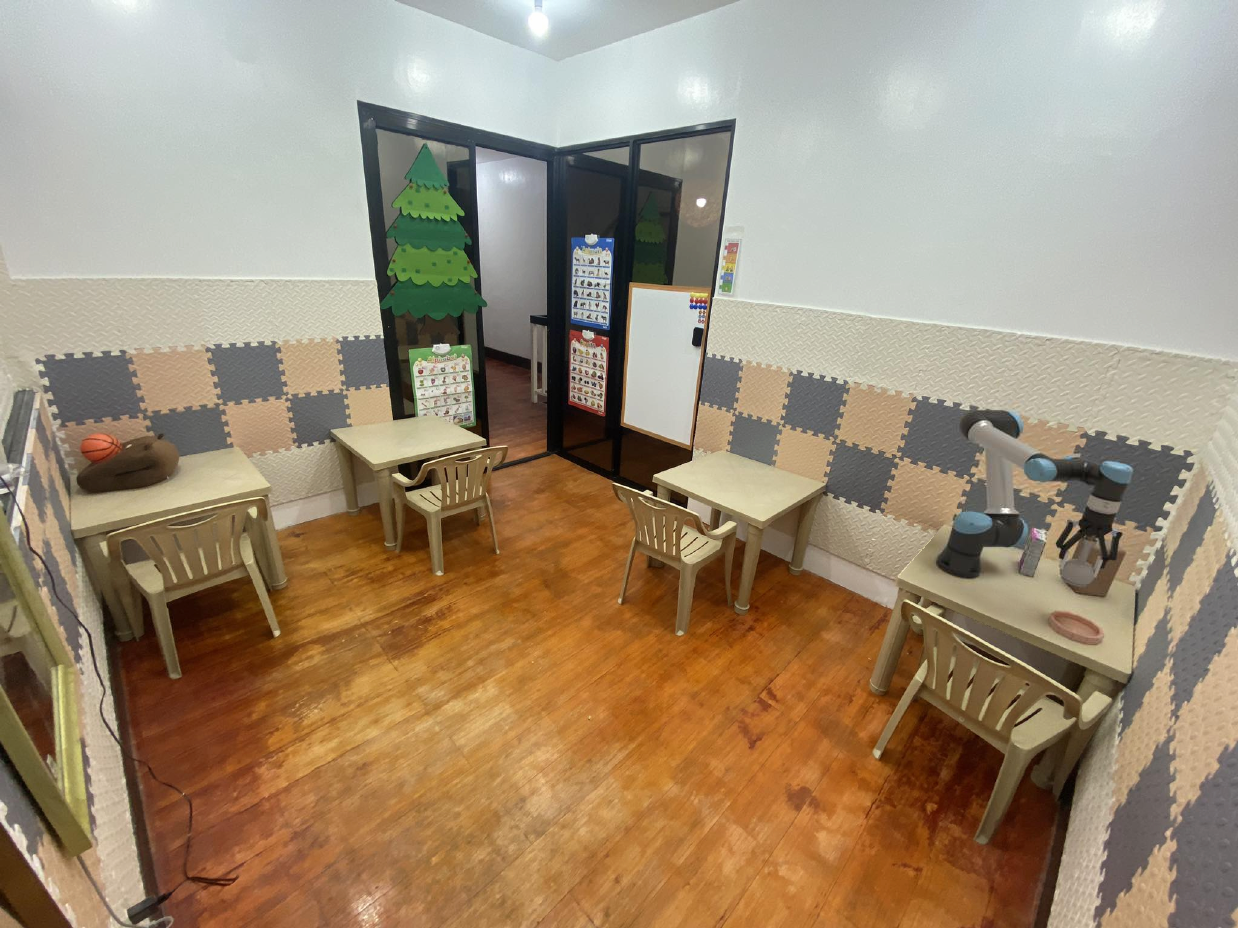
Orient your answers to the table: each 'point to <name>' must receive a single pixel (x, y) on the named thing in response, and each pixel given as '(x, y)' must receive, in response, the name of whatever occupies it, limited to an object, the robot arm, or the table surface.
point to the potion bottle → (1080, 566)
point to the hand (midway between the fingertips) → (1077, 571)
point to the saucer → (1076, 627)
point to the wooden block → (1104, 575)
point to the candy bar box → (1032, 552)
